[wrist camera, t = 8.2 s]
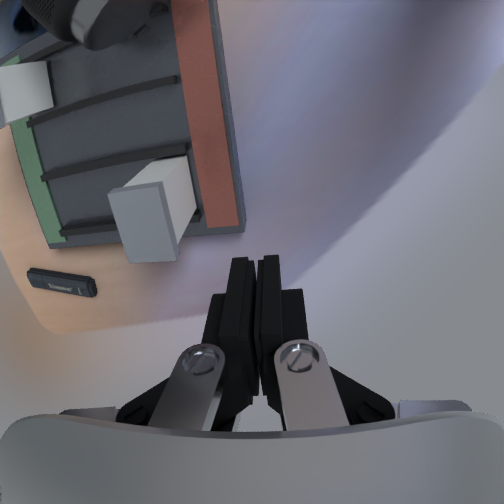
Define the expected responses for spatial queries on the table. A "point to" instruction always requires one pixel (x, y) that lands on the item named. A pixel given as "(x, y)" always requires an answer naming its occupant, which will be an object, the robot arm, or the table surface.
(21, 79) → the block
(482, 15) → the table surface
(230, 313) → the robot arm
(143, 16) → the muzzle brake
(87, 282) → the usb stick
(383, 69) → the table surface
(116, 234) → the breaker panel
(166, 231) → the block
